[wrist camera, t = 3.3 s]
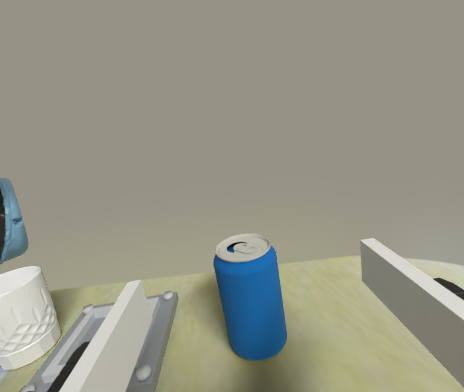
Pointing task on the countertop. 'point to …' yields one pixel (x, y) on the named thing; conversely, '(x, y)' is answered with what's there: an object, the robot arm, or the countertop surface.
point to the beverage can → (251, 296)
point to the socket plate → (87, 326)
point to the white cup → (25, 317)
